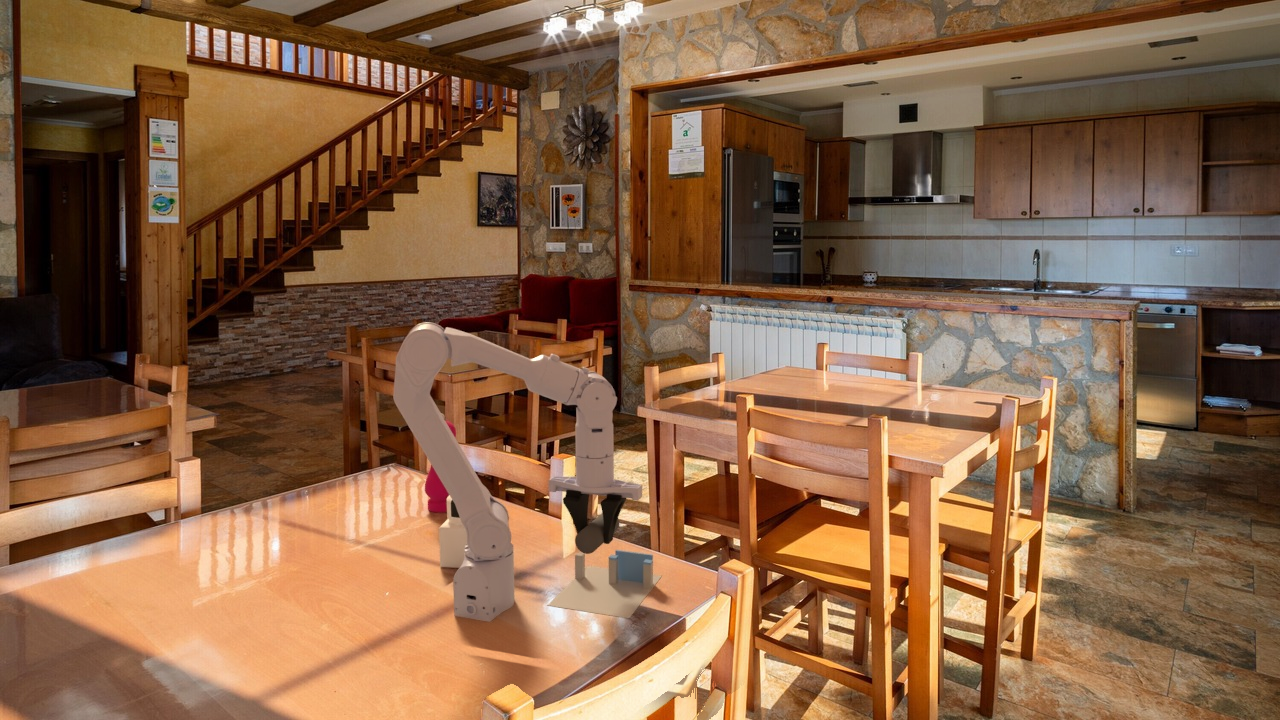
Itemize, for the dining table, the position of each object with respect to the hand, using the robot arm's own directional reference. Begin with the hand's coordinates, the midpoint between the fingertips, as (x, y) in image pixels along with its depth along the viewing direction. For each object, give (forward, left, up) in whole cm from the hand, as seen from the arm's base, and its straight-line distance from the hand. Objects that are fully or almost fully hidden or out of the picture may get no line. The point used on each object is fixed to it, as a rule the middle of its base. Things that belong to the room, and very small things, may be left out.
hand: (595, 540), depth 126 cm
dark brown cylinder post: (+1, 0, -1) cm, 1 cm away
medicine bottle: (+7, +27, -10) cm, 29 cm away
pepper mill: (+30, +46, -10) cm, 56 cm away
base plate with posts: (+2, -1, -10) cm, 10 cm away
